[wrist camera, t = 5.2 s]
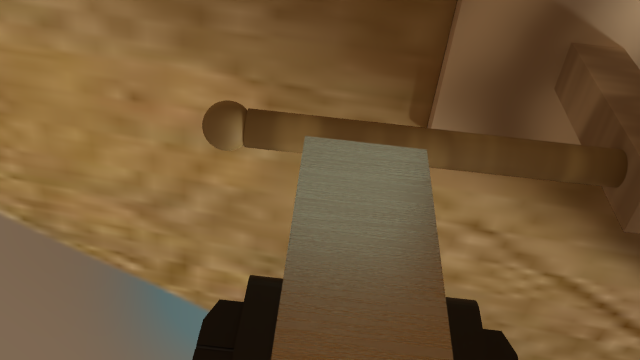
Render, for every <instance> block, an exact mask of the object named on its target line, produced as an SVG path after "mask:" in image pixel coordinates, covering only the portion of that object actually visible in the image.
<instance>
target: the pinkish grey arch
mask: <svg viewBox="0 0 640 360" xmlns="http://www.w3.org/2000/svg"><path fill="white" fill-rule="evenodd" d="M271 360H453V352H452V345H451V337H450V329H449V321H448V313H447V305H446V297H445V289H444V281H443V273H442V266H441V258H440V250H439V242H438V234H437V226H436V218H435V210H434V202H433V195H432V187H431V179H430V171H429V163H428V155H427V149H418V148H409V147H400V146H391V145H382V144H373V143H364V142H355V141H346V140H337V139H329V138H320V137H311V136H305V139H304V146H303V153H302V159H301V166H300V172H299V179H298V185H297V192H296V199H295V205H294V212H293V218H292V225H291V231H290V238H289V245H288V251H287V258H286V264H285V271H284V277H283V284H282V290H281V297H280V304H279V310H278V317H277V323H276V330H275V336H274V343H273V350H272V356H271Z"/></svg>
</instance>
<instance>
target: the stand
mask: <svg viewBox="0 0 640 360" xmlns="http://www.w3.org/2000/svg"><path fill="white" fill-rule="evenodd" d="M202 128H203V133H204V135H205V137H206V139H207V141H208V142H209V143H210V144H211V145H212V146H214V147H215V148H217V149H220V150H225V151H231V150H236V149H238V148H240V147H242V146H243V145H244V146H245V147H248V148H257V149H266V150H275V151H285V152H294V153H303V146H304V139H305V136H311V137H320V138H329V139H337V140H346V141H355V142H364V143H373V144H382V145H391V146H400V147H409V148H418V149H427V155H428V163H429V167H431V168H440V169H449V170H459V171H468V172H477V173H486V174H495V175H504V176H514V177H523V178H532V179H541V180H550V181H559V182H569V183H578V184H587V185H596V186H601V187H602V189H603V191H604V193H605V195H606V197H607V199H608V201H609V203H610V205H611V207H612V209H613V211H614V213H615V215H616V218H617V220H618V222H619V224H620V226H621V228H622V230H623V232H628V233H637V234H640V0H458V1H457V5H456V9H455V13H454V17H453V22H452V26H451V30H450V34H449V38H448V43H447V47H446V51H445V55H444V59H443V64H442V68H441V72H440V76H439V80H438V84H437V89H436V93H435V97H434V101H433V105H432V110H431V114H430V118H429V122H428V126H427V128H422V127H413V126H404V125H395V124H386V123H377V122H368V121H359V120H349V119H340V118H331V117H322V116H313V115H304V114H295V113H286V112H277V111H267V110H258V109H248V111H247V109H246V108H245V107H244V106H242V105H241V104H239V103H237V102H234V101H221V102H218V103H216V104H214V105H212V106H211V107H210V108H209V109H208V110H207V112H206V113H205V115H204V118H203V123H202Z"/></svg>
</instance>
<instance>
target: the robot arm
mask: <svg viewBox="0 0 640 360" xmlns="http://www.w3.org/2000/svg"><path fill="white" fill-rule="evenodd" d="M282 284H283V279H281V278H272V277H263V276H254V275H250V277H249V280H248V285H247V290H246V294H245V299H244V302H238V301H229V300H219V301H218V302H217V303H216V305H215V306H214V307H213V308H212V310H211V311H210V312H209V313H208V314H207V316H206V317H205V318H204V319H203V322H202V326H201V330H200V333H199V337H198V341H197V346H196V349H195V352H194V356H193V360H271V356H272V350H273V343H274V336H275V330H276V323H277V317H278V310H279V304H280V297H281V290H282ZM446 305H447V313H448V321H449V329H450V337H451V345H452V352H453V360H518V356H517V354H516V352H515V351H514V349H513V348H512V346H511V345H510V343H509V342H508V340H507V339H506V337H505V336H504V334H503V333H502V331H496V330H487V329H483V328H482V322H481V316H480V311H479V306H478V304H477V302H476V301H475V300H467V299H458V298H449V297H446Z"/></svg>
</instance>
